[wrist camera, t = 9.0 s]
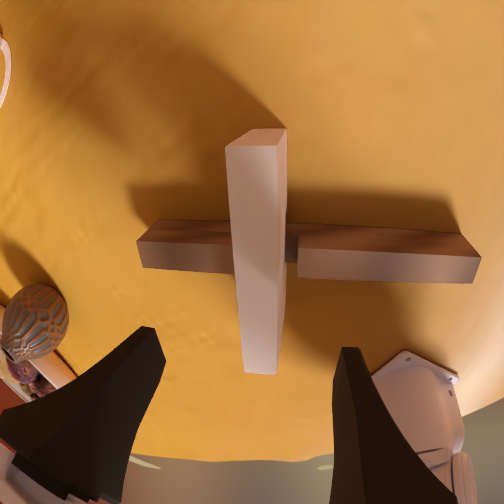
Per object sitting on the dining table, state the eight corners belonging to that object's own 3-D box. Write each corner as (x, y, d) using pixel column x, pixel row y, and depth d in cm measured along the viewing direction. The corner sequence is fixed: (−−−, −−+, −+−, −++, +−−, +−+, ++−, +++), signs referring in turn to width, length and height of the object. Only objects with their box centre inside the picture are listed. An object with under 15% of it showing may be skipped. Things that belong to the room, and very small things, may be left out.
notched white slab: (285, 307, 21) (276, 375, 15) (260, 305, 21) (244, 372, 16) (286, 128, 15) (276, 145, 9) (253, 128, 15) (224, 146, 10)
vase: (29, 263, 24) (-24, 313, 16) (76, 291, 24) (22, 354, 17) (37, 306, 28) (-5, 355, 20) (80, 334, 28) (40, 390, 20)
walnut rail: (461, 233, 15) (481, 257, 13) (454, 257, 16) (472, 283, 14) (158, 220, 19) (136, 241, 16) (162, 244, 20) (142, 267, 17)
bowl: (80, 420, 48) (66, 447, 41) (-19, 330, 40) (-38, 352, 34) (128, 399, 34) (106, 444, 27) (-23, 252, 27) (-59, 283, 20)
